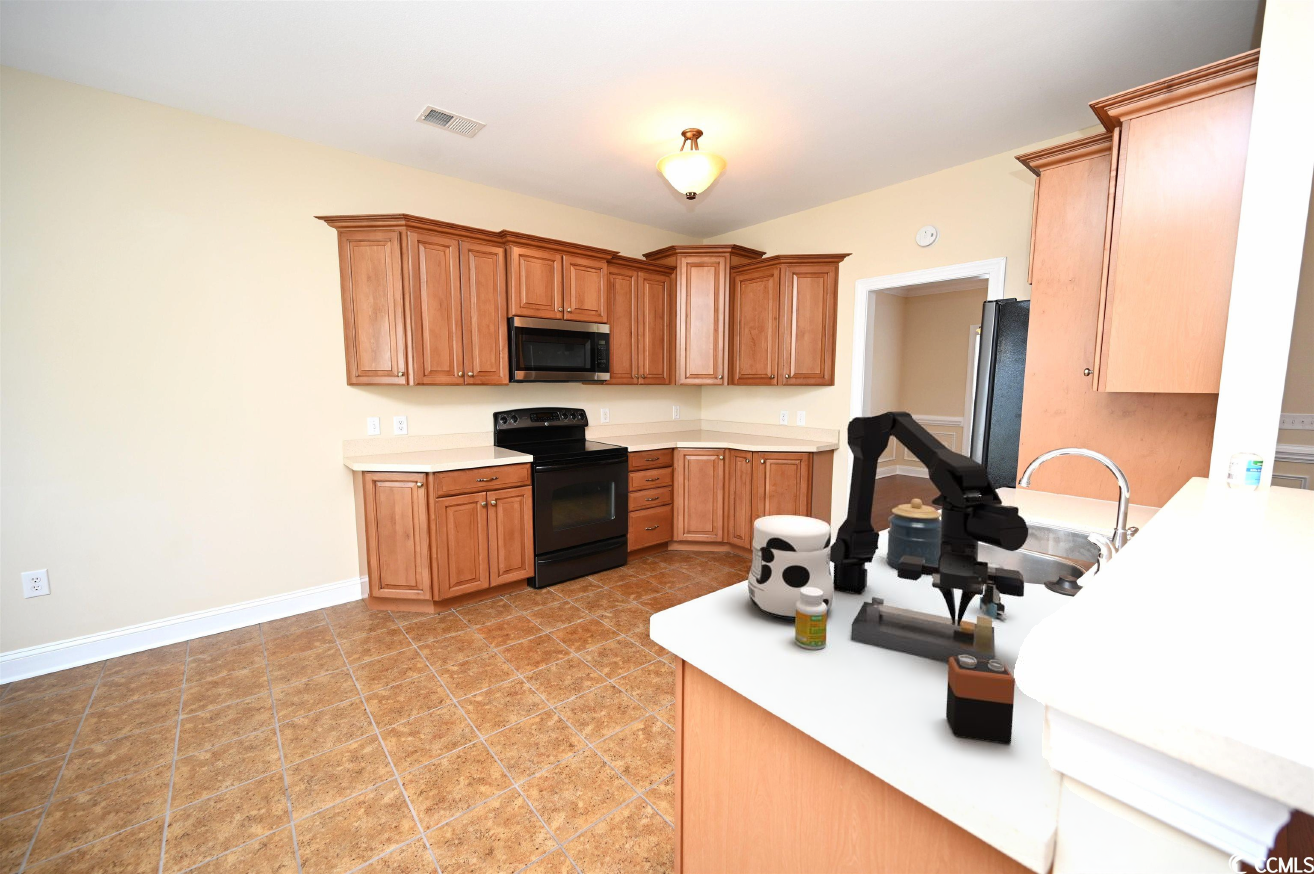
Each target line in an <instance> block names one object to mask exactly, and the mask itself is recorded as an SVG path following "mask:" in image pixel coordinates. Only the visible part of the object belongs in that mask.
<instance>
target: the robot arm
mask: <svg viewBox="0 0 1314 874" xmlns="http://www.w3.org/2000/svg"><path fill="white" fill-rule="evenodd" d="M846 430H847V431H846V432H847V445H848V447H849V450H850V451H851V453H852V454H853V456H852V457H853V458H852V459H853V460H852V467H851V468H852V470H851V476H850V477H851V478H850V485H849V493H848V494H849V496H848V504H847V513H846V518H845V520H844V521H843V523H842V524H840V526H839V528H838V530H837V534H836V538H835V541H834V542H833V543H832V544H830V546H831V551H830V563H832V564H833V578H832V579H833V584H834V591H835V590H836V591H840V592H844V593H845V592H846V593H851V594H855V595H856V594H857V595H861V594H863V591H864V590H866V588H867V586H868V568H866V563H869V564H870V563H871V564H872V562H873V559H874V557H875V554H876V551H877V550H879V539H880V533H879V531H875V528H874V526H873V524H872V514H873V512H872V511H873V503H874V496H875V490H876V489H875V488H876V480H877V471H878V463H879V459H880V457H881V456H882V455H883V454H884V452H885V451H886V450H887V448H888V446H889V442H890V438H891V437H893V438H895V439H896V440H897V441H898V442H899V443H900V444H901V445H902V446H903V447H904V448H905V449H907V450H908V451H909V452H910V453H911V454H912V455H913V456H914V457H915V459H916V458H917V460H918V461H919V462H921V464H922V465H924V466H925V468H926V469H927V472H928V473H927V474H928V478H929V480H930V482H931V483H932V484H933V485H934V487H935V488H936V490H937V491H938V492H939V493H940V494H939V495H938V496H937V497H935V498H933V499H932V500H931V504H932V505H935V506H939V507H940V508H941V510H940V511H941V512H940V513H941V517H940V520H941V538H940V556H939V559H938V566H937V565H929V564H925V558H921V557H913V556H906V555H904V556H903V557H902V558H901V559H900V561H899V563H898V569H896V570H897V578H899V579H904V580H910V581H914V582H916V581H918V580H919V579H921V578H922V576H930V577H931V579H932V583H931V587H932V588H934V589H937V590H939V591H940V593H941V595H942V597H943V599H944V601H945V603H946V606H947V609H948V610H947V611H948V613H949V615H950V618H951V619H952V622H953V623H955V619H957V623H958V624H960V623H961V620H962V619H963V618H964V615H965V613H966V612H967V609H968V607H969V605H970V603H971V602H972V600H973V598H974V597H975V596H976V595H977V596H983V595H984V585H985V584H986V585H987V584H990V585H995V589H996V590H997V591H998V592H999V593H1000V594H1001V595H1007V596H1012V597H1019V598H1021V597H1024V596H1025V579H1024V575H1023V573H1022V572H1021V571H1020V570H1016V569H1015V570H1014V569H1011V568H1010V569H1009V568H1004V569H1002V568H995V574H994V573H988V563H989V562H988V561H979V543H983V544H986V545H988V546H992V547H996V548H998V549H1002V550H1005V551H1008V552H1015V551H1018V550H1019V549H1021V548H1022V547H1023V546H1024V545H1025V544H1026V541H1027V539H1028V536H1029V527H1028V526H1027V523H1026V520H1025V518H1023V517H1022V516H1021V515H1019V509H1020V508H1019V507H1018V506H1013V505H1003V501H1002V499H1001V497H1000V496H999V493H998V492H997V490H996V488H995V487H994V485H993V483H992V481H991V479H990V477H989V476H988V475H989V473H988V470H987V469H986V467H985V466H984V465H983V464H982V463H979V461H975V459H973V458H970V457H969V456H967V455H964V454H962V453H958V452H956V451H953V450H951V449H949V448H948V447H947V446H946V445H944V443H942V441H940V440H939V439H937V438H936V437H935V436H934V435H933V434H932V433H931V432H930V431H928V430H927V429H926V428H924V427H923V426H922V425H921V424H920V423H919V422H918V421H916V420H915V419H914V418H913V416H912V414H911V413H909V412H907V411H904V410H903V411H901V410H899V411H898V410H896V411H893V410H892V411H891V410H890V411H886V412H884V413H880V414H878V415H877V414H876V415H873V416H855V417H854V418H852V419H851V420H850V421H849V422H848V424H847V429H846ZM955 590H961V595H960V599H959V606H958V610H957V609H956V600H955V599H956V598H955ZM956 610H957V611H956ZM956 612H957V613H956ZM956 617H957V618H956Z"/></svg>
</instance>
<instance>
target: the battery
mask: <svg viewBox="0 0 1314 874" xmlns="http://www.w3.org/2000/svg"><path fill="white" fill-rule="evenodd" d="M947 666H948V667H947V688H946V689H947V690H946V693H947V694H946V710H945V717H946V720H947V722H948V724H949V727H950V729H951V732H952V734H953V735H954V736H956V737H958V738H959V737H960V738H966V739H972V740H973V739H974V740H980V741H985V742H986V741H987V742H993V743H999V744H1006V745H1010V744H1011V743H1012V735H1013V719H1014V705H1015V704H1014V702H1015V687H1016V679H1015V677H1014V676H1013V675H1012V673H1011V671H1010V670H1009V669H1008V667H1007V666H1006V665H1005V663H1003V662H1002V661H1001V660H1000V661H999V660H997V659H995V660H990V661H985V660H976V659H975V658H974V657H971V656H968V655H959V656H958V657H950V658H949V663H948V665H947Z"/></svg>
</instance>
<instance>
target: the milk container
mask: <svg viewBox="0 0 1314 874" xmlns="http://www.w3.org/2000/svg"><path fill="white" fill-rule="evenodd" d="M831 532H832V530H831V526H830V525H829V523H828V522H826V521H824V520H821V519H817V518H814V517H809V516H803V515H802V516H801V515H790V514H789V515H788V514H787V515H786V514H781V515H778V514H777V515H775V514H773V515H768V516H762V517H759V518H757V519H756V520H754V524H753V531H752V537H753V538H752V539H753V540H752V563H751V568H750V571H749V573H748V577H747V578H748V579H747V590H748V591H747V592H748V595H749V599H750V601H751V603H752V604H753V605H754V606H755V607H756V608H757V609H759V610H760V611H762V612H764V613H766V614H768V615H771V616H774V617H779V618H783V619H792V620H796V603H797V602H798V601H799V600H800V599H801V598H800V590H801V588H804V587H813V588H818V589H820V590H822V591H823V601H822V602H824V603H825V604H826V606H827V612H829V610H830V608H831V607H832V605H833V601H834V596H835V595H834V594H835V590H834V584H833V579H834V578H833V577H832V576H833V575H832V571H831V565H830V564H831V561H830V551H831V540H832V533H831Z"/></svg>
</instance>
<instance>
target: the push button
mask: <svg viewBox="0 0 1314 874" xmlns="http://www.w3.org/2000/svg"><path fill="white" fill-rule="evenodd" d="M995 568H1002V569H1005V567H1004V566H1003V565H1002V564H999V563H995V562H988V573H994V574H995ZM1001 600H1002V598H1001V595H1000V593H999V592H998V591H997V590H996V589H995V585H990V584H987V585H986V584H984V586H983V595H982V596H980V597H979V607H978V608H979V610H981V612H982V613H983V614H986V615H988V616H989V617H991V619H1000V620H1006V618H1005V617H1004V616H1007V614H1006V613H1005V610H1006V609H1005V608H1006V607H1005V604H1004V603H1002V602H1001Z"/></svg>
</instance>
